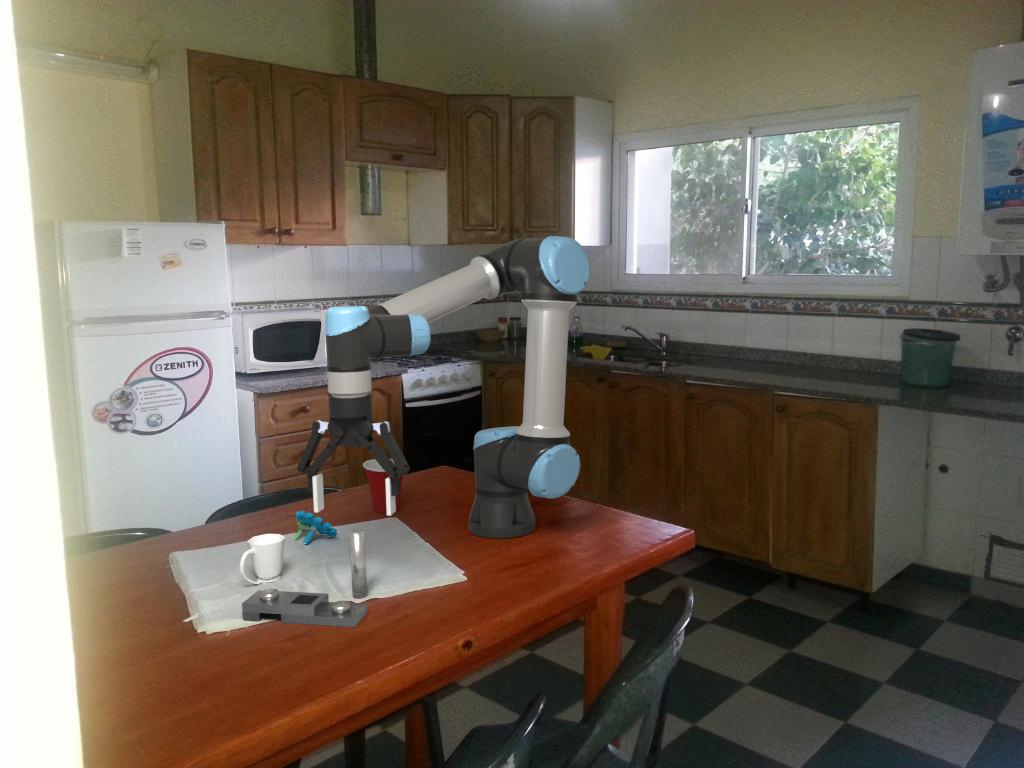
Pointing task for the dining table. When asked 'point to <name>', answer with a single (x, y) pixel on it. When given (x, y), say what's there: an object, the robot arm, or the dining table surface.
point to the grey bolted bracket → (302, 608)
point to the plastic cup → (379, 485)
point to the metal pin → (358, 563)
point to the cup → (265, 557)
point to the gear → (313, 526)
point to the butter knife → (215, 606)
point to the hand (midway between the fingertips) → (354, 512)
